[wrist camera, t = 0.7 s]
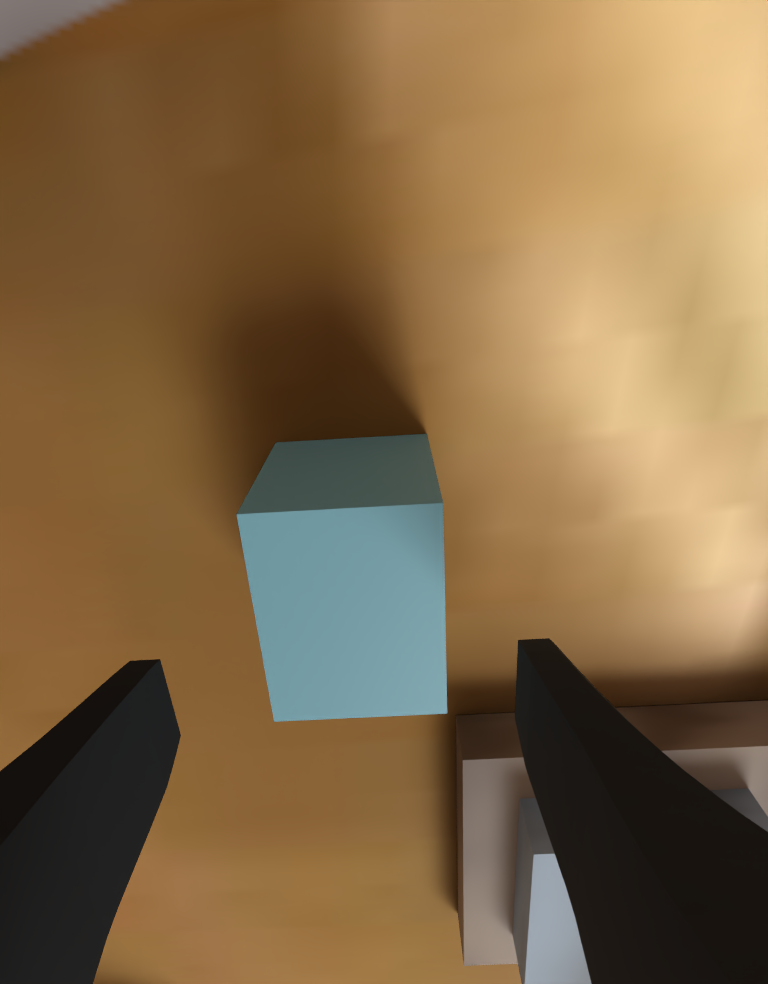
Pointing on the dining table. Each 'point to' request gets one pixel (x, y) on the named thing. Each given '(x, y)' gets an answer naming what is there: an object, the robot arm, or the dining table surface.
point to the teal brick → (348, 577)
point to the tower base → (506, 776)
